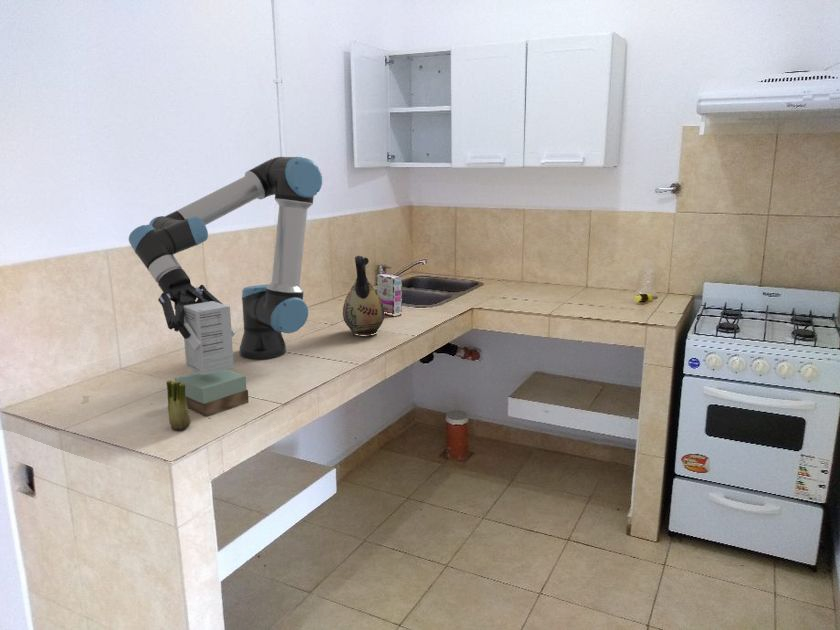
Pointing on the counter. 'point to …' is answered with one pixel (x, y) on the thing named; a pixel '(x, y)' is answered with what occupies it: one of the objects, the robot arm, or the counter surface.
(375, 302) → the ceramic jug
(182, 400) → the fennel bulb
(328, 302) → the counter surface
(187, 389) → the tower top
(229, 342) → the supplement box
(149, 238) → the robot arm
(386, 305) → the candy bar box
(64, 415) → the counter surface
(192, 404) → the tower base
